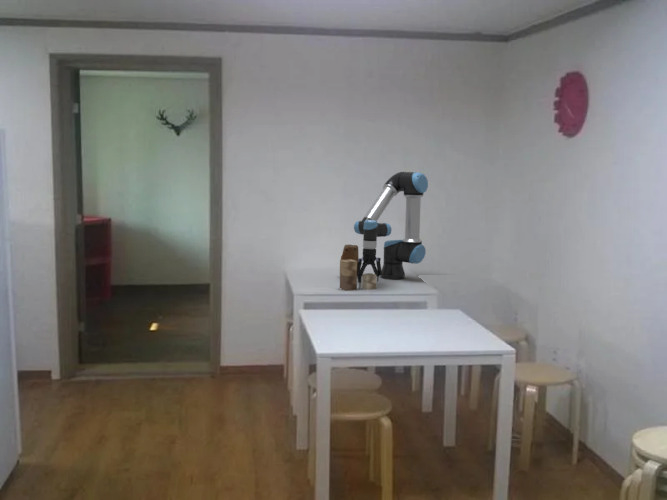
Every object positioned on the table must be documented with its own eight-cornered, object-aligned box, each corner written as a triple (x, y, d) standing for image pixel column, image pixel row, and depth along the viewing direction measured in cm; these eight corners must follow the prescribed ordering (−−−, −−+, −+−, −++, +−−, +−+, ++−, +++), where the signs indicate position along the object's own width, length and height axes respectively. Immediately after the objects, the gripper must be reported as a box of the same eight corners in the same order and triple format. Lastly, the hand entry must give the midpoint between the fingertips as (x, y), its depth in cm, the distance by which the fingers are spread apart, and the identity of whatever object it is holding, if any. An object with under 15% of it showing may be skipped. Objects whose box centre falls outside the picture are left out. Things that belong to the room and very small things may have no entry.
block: (357, 276, 444) (358, 244, 441) (358, 278, 436) (359, 246, 434) (339, 276, 443) (340, 244, 440) (340, 278, 436) (341, 245, 433)
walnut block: (350, 287, 408) (351, 273, 407) (356, 289, 402) (357, 275, 401) (339, 288, 405) (340, 274, 404) (345, 290, 399) (345, 276, 398)
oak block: (350, 273, 407) (351, 259, 406) (356, 275, 401) (357, 261, 400) (339, 274, 404) (340, 260, 403) (345, 276, 397) (345, 261, 396)
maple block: (370, 286, 411) (370, 273, 410) (375, 288, 406) (376, 274, 405) (361, 287, 408) (361, 273, 407) (366, 289, 403) (367, 275, 402)
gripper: (382, 246, 412) (380, 285, 415) (349, 247, 402) (347, 287, 405) (389, 248, 405) (387, 288, 408) (356, 249, 396) (354, 290, 398)
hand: (367, 287), depth 407 cm, fingers open, 9 cm apart
